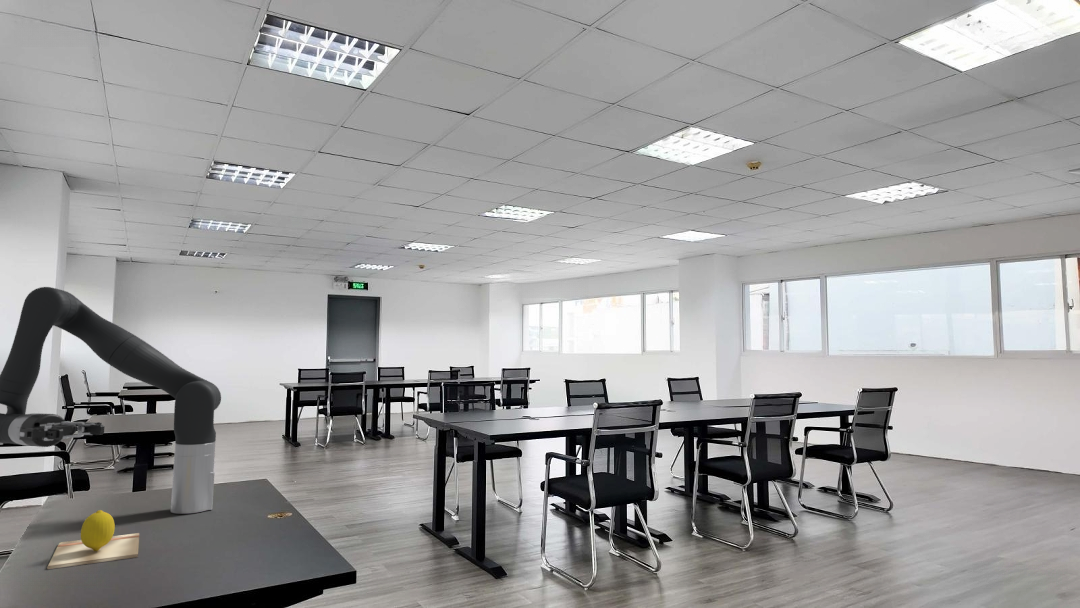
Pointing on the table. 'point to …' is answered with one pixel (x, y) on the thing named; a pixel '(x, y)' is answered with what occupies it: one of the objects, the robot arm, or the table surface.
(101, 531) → the lemon
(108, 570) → the table surface
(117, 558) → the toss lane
